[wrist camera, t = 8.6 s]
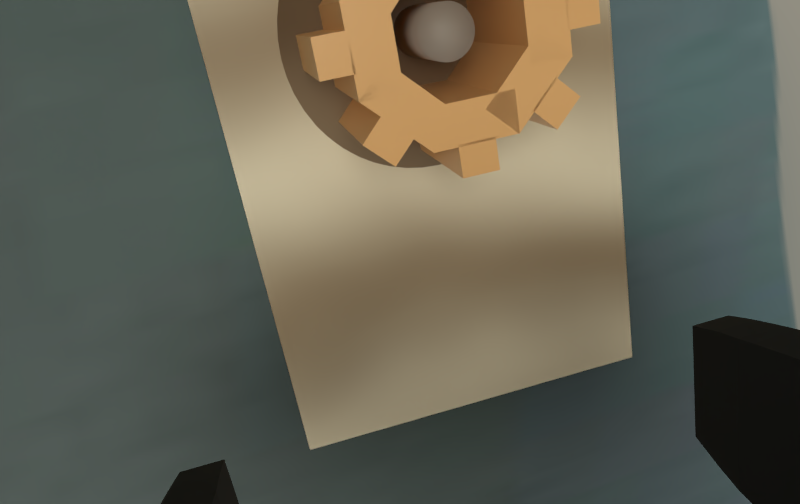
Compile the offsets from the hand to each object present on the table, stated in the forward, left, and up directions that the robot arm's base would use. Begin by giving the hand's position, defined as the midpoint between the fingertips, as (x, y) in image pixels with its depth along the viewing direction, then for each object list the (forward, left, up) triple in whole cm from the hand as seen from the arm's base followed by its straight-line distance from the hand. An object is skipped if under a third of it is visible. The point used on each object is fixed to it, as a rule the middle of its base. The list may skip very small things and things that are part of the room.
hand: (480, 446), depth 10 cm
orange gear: (+2, -5, -8) cm, 10 cm away
